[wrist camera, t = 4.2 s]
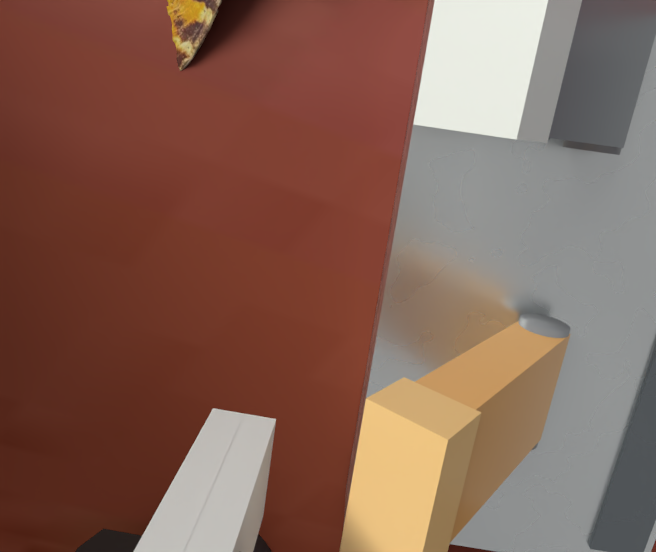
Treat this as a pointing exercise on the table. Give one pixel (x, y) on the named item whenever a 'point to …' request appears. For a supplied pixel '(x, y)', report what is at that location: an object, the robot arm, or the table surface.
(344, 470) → the table surface
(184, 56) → the butterfly model
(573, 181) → the panel
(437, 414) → the paddle orange
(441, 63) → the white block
